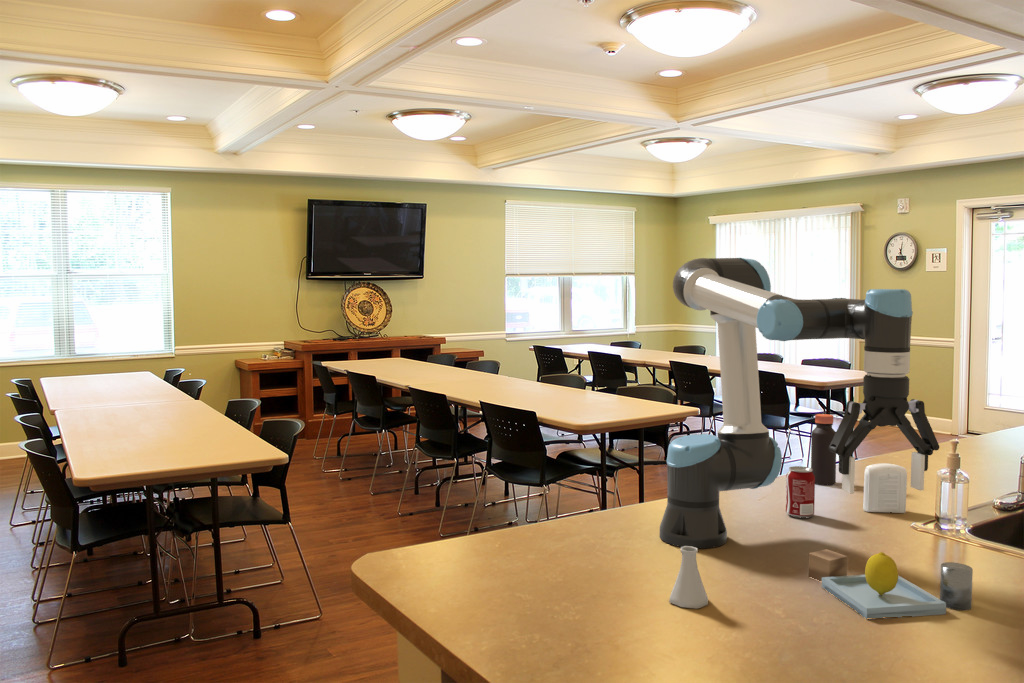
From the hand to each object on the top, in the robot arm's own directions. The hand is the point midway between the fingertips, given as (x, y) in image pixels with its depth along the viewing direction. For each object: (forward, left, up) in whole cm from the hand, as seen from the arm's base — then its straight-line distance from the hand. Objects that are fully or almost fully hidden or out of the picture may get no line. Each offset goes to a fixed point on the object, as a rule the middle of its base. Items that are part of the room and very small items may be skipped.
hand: (882, 490), depth 145 cm
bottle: (+35, +83, -21) cm, 92 cm away
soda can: (+12, +53, -21) cm, 58 cm away
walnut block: (-4, +11, -21) cm, 24 cm away
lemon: (0, 0, -20) cm, 20 cm away
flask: (-35, +5, -21) cm, 41 cm away
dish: (0, 0, -21) cm, 21 cm away
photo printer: (+35, +53, -21) cm, 67 cm away
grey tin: (+12, -4, -21) cm, 24 cm away
